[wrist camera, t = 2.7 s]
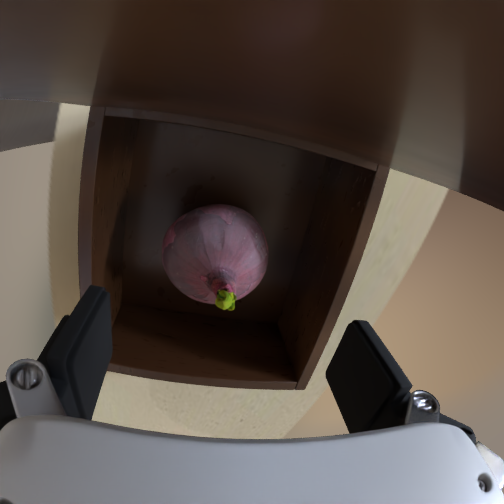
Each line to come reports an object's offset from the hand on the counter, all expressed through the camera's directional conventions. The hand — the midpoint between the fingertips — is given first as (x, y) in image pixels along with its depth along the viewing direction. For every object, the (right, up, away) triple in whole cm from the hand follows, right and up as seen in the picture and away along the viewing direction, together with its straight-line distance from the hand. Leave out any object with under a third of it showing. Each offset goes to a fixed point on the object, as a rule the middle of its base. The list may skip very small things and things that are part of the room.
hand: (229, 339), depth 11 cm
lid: (+2, +5, -7) cm, 9 cm away
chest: (-2, +5, +11) cm, 12 cm away
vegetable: (-2, +5, +10) cm, 12 cm away
